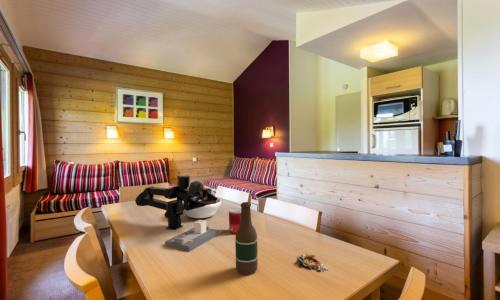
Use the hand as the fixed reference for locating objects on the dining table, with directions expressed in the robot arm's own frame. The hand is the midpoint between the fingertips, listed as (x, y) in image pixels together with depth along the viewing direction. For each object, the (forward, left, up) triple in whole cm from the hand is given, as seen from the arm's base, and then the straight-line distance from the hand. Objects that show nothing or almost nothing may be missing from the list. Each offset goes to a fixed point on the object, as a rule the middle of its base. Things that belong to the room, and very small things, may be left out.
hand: (211, 201), depth 124 cm
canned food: (+9, +9, -17) cm, 21 cm away
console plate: (-4, -9, -16) cm, 19 cm away
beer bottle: (+32, -23, -17) cm, 42 cm away
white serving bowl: (-25, +23, -17) cm, 38 cm away
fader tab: (-4, -4, -14) cm, 15 cm away
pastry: (+52, -9, -17) cm, 55 cm away
